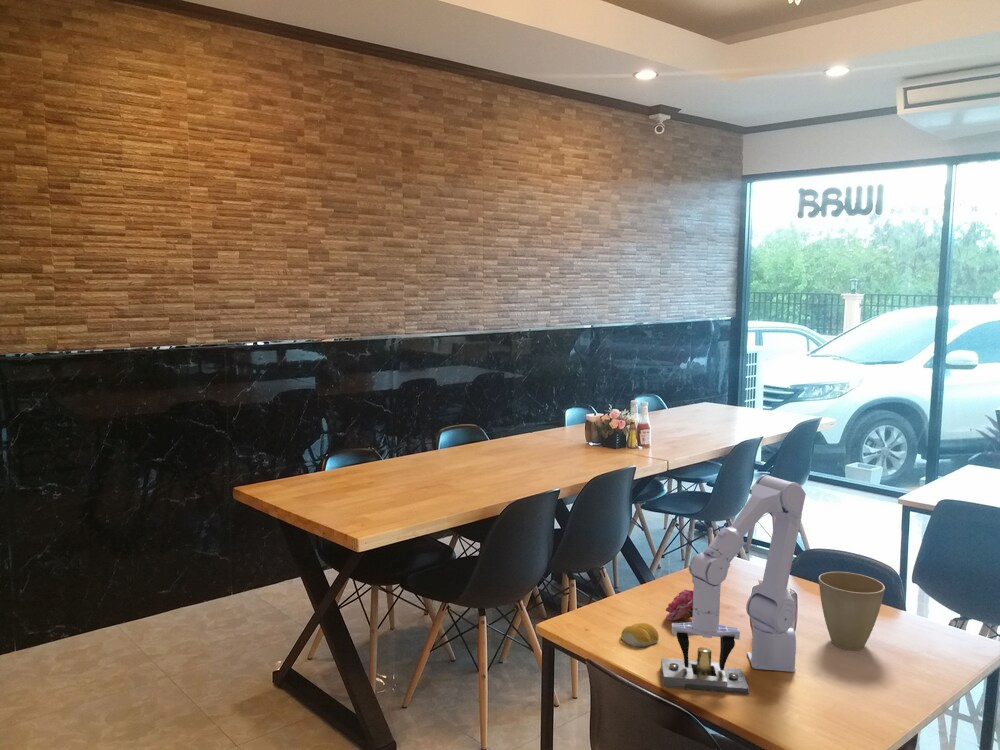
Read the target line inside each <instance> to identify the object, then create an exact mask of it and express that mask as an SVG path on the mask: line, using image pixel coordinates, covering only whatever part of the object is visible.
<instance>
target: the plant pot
mask: <svg viewBox="0 0 1000 750" xmlns="http://www.w3.org/2000/svg"><path fill="white" fill-rule="evenodd" d="M818 585H819V595H820V602H821V607H822V613H823V617H824V622H825V625H826V629H827V632H828V634H829V637H830V641H831V643H832V644H833V645H835V646H836V647H838V648H841V649H845V650H849V651H860V650H862V649H864V648H865V646H866V644H867V642H868V641H869V638H870V636H871V634H872V632H873V630H874V626H875V624H876V621H877V620H878V615H879V613H880V610H881V606H882V603H883V599H884V594H885V589H886V585H884V583H882V582H881V581H879V580H878V579H876V578H873V577H870V576H867V575H864V574H859V573H853V572H847V571H829V572H825V573H824V572H823V573H822V574H820V575H819V576H818Z"/></svg>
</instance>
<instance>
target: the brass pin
mask: <svg viewBox="0 0 1000 750" xmlns="http://www.w3.org/2000/svg"><path fill="white" fill-rule="evenodd" d="M696 655H697V657H696V660H697V675H704V676H710V673H711V662H712V650H711V648H708V647H703V646H701V647H698V648H697V654H696Z"/></svg>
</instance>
